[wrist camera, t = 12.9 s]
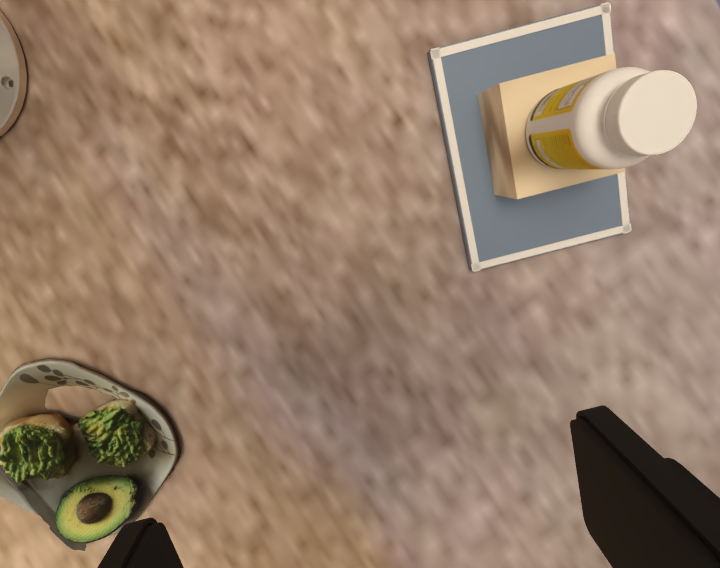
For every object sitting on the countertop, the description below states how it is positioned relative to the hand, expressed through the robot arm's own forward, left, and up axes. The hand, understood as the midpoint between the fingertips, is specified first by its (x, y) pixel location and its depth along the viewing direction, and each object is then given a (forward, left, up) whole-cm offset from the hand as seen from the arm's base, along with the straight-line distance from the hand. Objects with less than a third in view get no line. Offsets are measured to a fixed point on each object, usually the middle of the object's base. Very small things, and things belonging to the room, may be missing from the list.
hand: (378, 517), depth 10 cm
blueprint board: (-5, +17, -30) cm, 35 cm away
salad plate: (+12, -29, -31) cm, 44 cm away
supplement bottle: (-6, +17, -24) cm, 30 cm away
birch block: (-6, +17, -29) cm, 34 cm away
